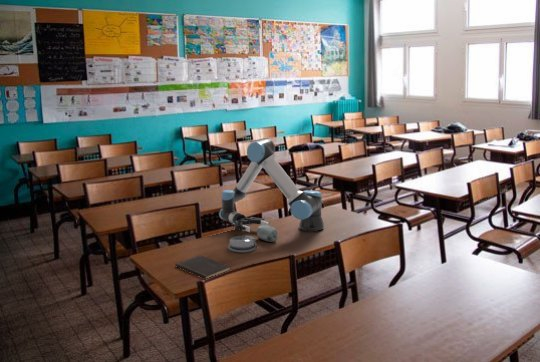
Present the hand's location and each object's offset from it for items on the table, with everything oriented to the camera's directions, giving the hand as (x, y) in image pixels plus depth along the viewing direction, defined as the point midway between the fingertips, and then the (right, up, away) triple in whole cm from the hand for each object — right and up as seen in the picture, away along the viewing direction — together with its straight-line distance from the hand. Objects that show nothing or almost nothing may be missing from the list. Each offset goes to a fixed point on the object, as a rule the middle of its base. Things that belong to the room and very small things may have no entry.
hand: (259, 227), depth 299 cm
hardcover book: (-27, -17, -42) cm, 53 cm away
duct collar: (-9, -10, -15) cm, 20 cm away
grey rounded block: (+5, -7, -4) cm, 9 cm away
